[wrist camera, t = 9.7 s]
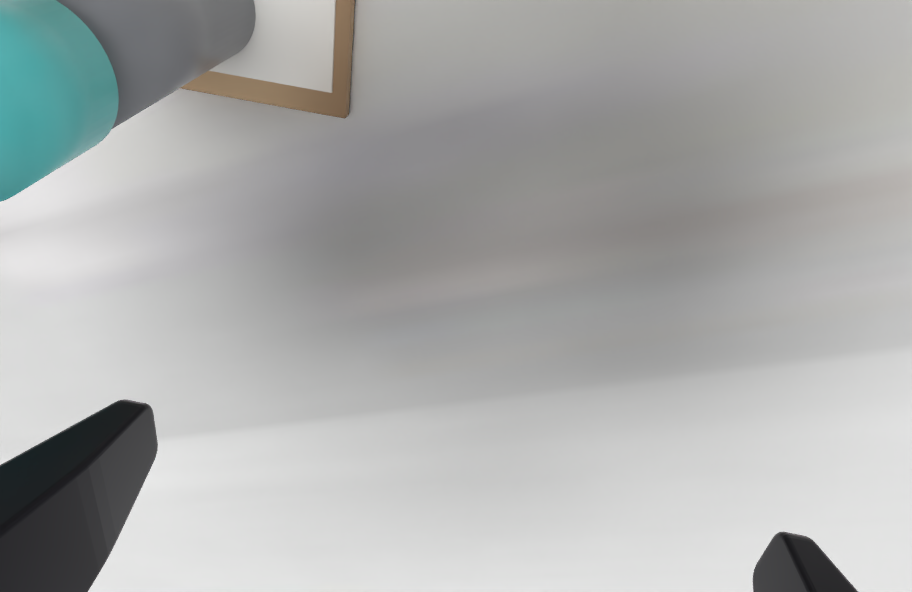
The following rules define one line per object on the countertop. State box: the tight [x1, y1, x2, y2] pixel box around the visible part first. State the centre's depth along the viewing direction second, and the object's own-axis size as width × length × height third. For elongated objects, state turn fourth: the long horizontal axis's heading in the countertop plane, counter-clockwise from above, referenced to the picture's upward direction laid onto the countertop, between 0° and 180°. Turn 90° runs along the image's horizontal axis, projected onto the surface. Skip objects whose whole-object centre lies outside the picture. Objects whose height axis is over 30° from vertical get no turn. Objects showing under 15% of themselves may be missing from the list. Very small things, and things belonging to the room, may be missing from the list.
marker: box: [0, 0, 256, 201], centre depth 15 cm, size 3×3×9 cm
